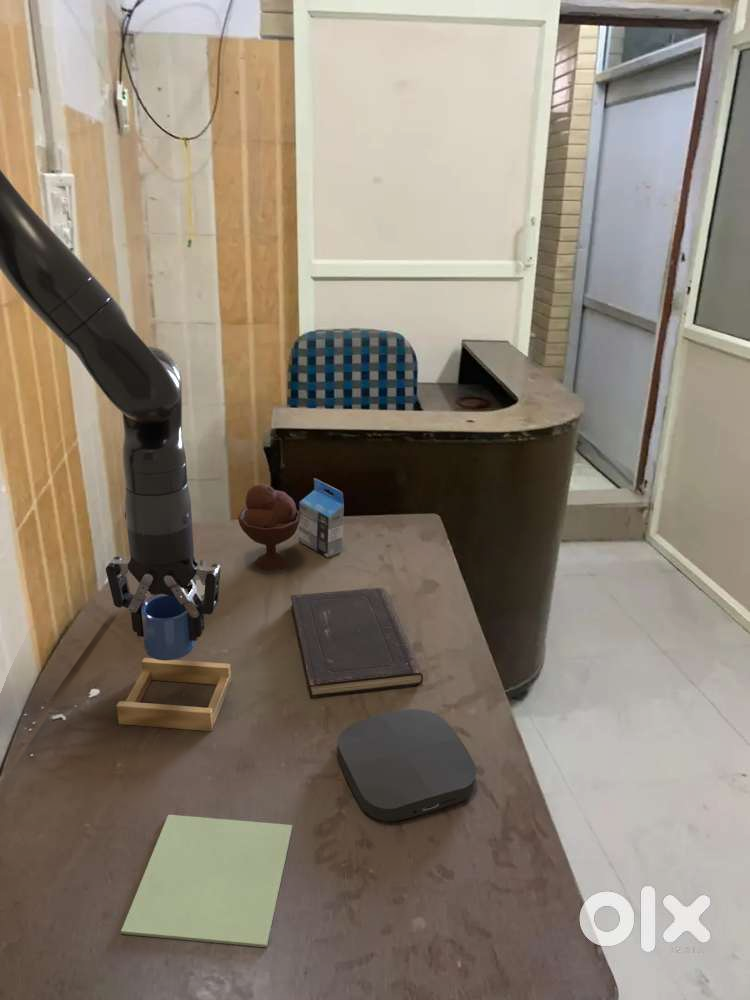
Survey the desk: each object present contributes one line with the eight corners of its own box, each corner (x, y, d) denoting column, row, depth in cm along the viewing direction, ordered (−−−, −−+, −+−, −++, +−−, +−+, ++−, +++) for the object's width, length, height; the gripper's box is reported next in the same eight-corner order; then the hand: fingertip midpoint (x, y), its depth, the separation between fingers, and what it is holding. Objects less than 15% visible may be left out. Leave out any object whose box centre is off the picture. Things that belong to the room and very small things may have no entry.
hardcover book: (309, 698, 104) (309, 685, 103) (290, 607, 124) (290, 595, 123) (422, 685, 107) (423, 672, 106) (385, 598, 128) (386, 586, 127)
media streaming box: (328, 743, 96) (328, 725, 95) (432, 717, 101) (433, 699, 100) (370, 832, 84) (371, 812, 83) (486, 797, 89) (489, 778, 88)
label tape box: (297, 541, 145) (297, 482, 140) (314, 535, 148) (314, 477, 142) (327, 559, 139) (327, 498, 134) (344, 552, 142) (345, 492, 137)
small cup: (137, 658, 96) (133, 618, 93) (154, 630, 101) (151, 592, 99) (186, 662, 95) (183, 622, 93) (200, 634, 101) (198, 595, 99)
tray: (118, 724, 98) (116, 705, 97) (146, 674, 107) (144, 657, 106) (211, 731, 97) (210, 713, 96) (231, 681, 107) (230, 663, 105)
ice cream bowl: (256, 583, 131) (253, 504, 124) (231, 555, 139) (227, 480, 133) (311, 568, 136) (311, 492, 130) (284, 542, 144) (282, 469, 138)
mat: (121, 933, 72) (120, 931, 72) (168, 817, 85) (168, 814, 85) (266, 947, 71) (266, 944, 71) (292, 827, 84) (292, 824, 84)
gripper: (226, 509, 94) (231, 623, 101) (112, 501, 95) (125, 614, 101) (210, 537, 87) (216, 657, 94) (87, 527, 88) (102, 647, 95)
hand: (168, 634), depth 98 cm, fingers closed on small cup, 6 cm apart
